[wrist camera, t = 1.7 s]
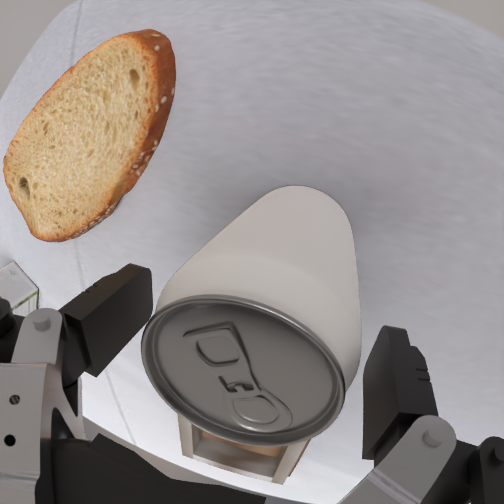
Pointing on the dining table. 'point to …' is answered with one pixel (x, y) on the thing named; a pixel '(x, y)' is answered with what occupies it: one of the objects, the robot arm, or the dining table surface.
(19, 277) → the syrup box
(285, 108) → the dining table surface
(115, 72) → the slice of bread
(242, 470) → the board
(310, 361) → the can
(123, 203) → the dining table surface
